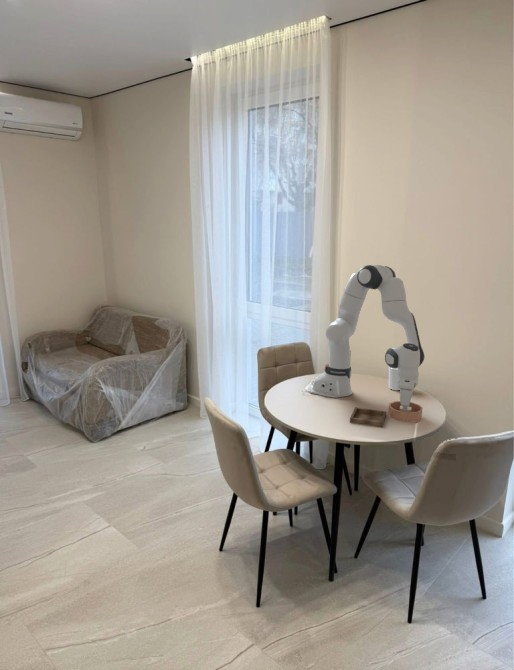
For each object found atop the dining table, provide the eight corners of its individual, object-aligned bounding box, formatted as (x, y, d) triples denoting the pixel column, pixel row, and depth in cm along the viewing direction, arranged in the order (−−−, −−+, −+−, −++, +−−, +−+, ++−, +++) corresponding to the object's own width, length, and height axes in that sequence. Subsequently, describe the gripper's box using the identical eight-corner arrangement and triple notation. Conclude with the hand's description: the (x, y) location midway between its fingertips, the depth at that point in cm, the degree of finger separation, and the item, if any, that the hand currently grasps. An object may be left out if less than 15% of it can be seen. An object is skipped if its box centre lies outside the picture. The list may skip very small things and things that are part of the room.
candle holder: (408, 387, 264) (410, 366, 261) (402, 392, 256) (404, 370, 253) (390, 384, 269) (391, 363, 267) (384, 389, 261) (386, 367, 259)
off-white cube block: (399, 415, 223) (399, 408, 222) (399, 412, 226) (400, 405, 225) (410, 417, 221) (411, 410, 220) (411, 414, 225) (411, 407, 224)
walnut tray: (349, 424, 215) (350, 418, 214) (354, 413, 227) (355, 407, 227) (382, 429, 210) (382, 422, 209) (385, 417, 223) (386, 411, 222)
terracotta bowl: (386, 420, 219) (387, 410, 218) (389, 409, 233) (390, 399, 232) (420, 425, 215) (421, 414, 213) (422, 413, 228) (422, 403, 227)
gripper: (402, 372, 230) (399, 400, 233) (398, 385, 212) (396, 415, 215) (416, 374, 228) (413, 402, 231) (413, 387, 210) (411, 417, 213)
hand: (405, 408), depth 223 cm, fingers open, 6 cm apart
